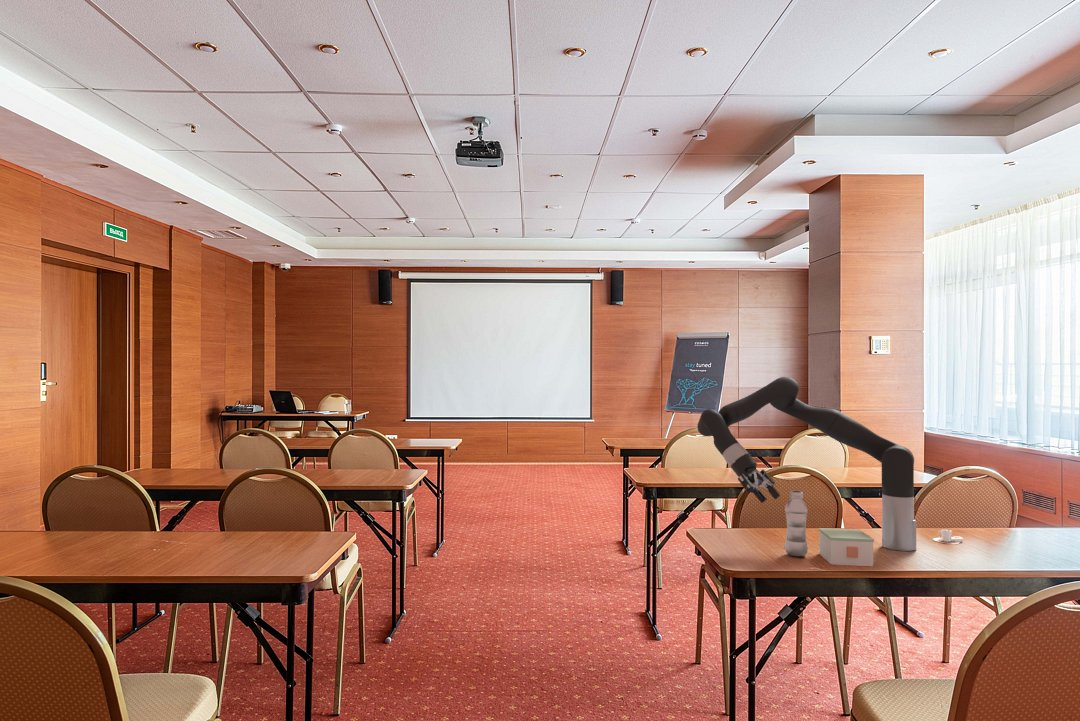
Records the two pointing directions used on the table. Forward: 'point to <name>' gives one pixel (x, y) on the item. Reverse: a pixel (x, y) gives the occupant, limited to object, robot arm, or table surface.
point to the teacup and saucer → (948, 537)
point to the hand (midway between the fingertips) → (771, 499)
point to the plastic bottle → (796, 525)
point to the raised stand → (846, 547)
